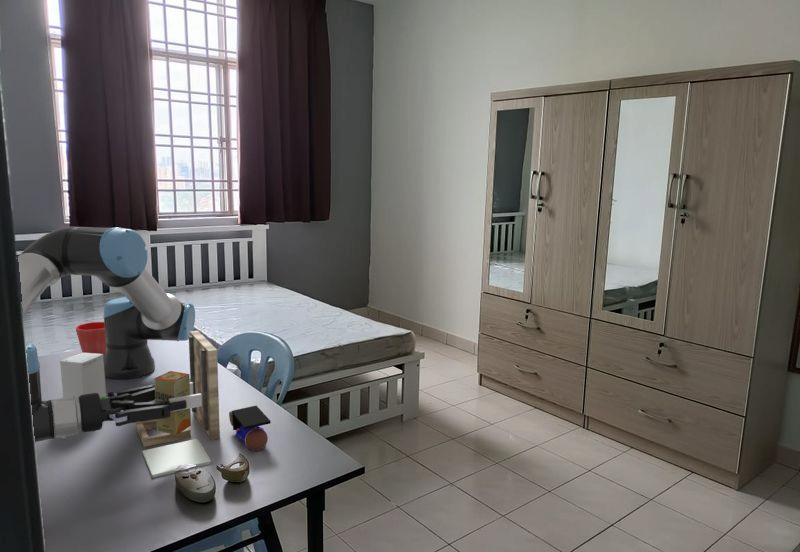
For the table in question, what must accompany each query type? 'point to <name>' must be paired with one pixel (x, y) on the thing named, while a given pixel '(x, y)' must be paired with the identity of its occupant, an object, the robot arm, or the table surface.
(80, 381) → the skincare box
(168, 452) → the sage mat
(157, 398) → the shoe polish box
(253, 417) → the figurine character
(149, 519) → the table surface
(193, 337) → the board
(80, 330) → the flower pot
